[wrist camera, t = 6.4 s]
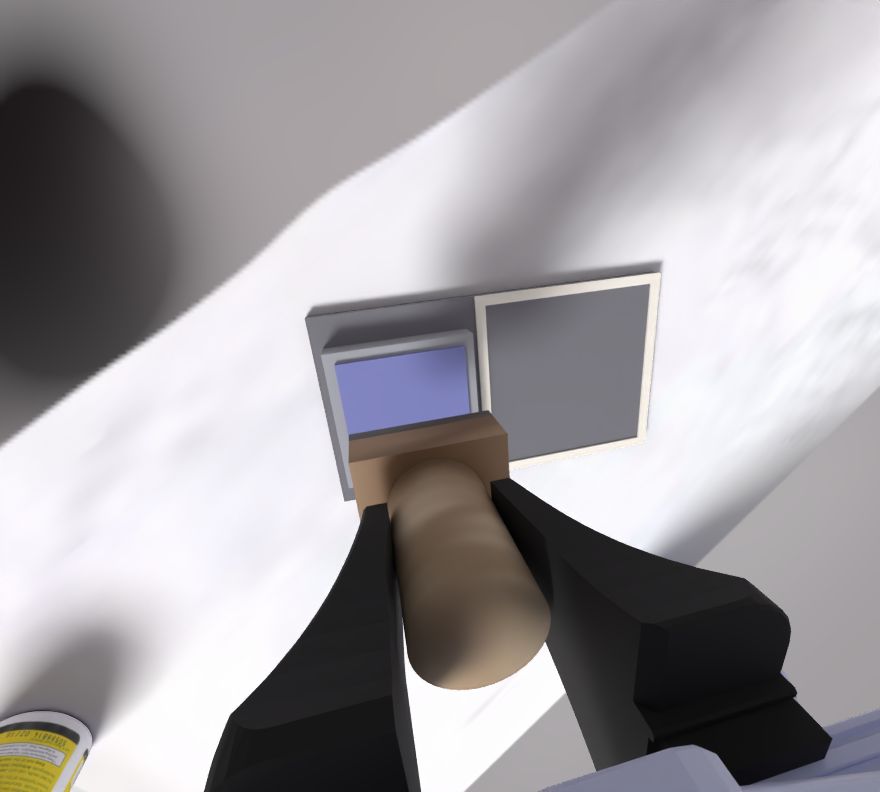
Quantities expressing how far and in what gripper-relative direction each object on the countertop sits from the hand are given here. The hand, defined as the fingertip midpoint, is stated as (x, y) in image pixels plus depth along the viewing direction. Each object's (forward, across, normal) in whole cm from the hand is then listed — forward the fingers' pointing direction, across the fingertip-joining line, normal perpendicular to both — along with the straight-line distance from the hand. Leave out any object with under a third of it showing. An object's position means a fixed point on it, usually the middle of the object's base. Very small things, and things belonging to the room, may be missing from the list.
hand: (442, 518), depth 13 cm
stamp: (+3, 0, 0) cm, 3 cm away
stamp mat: (+10, -5, 0) cm, 11 cm away
